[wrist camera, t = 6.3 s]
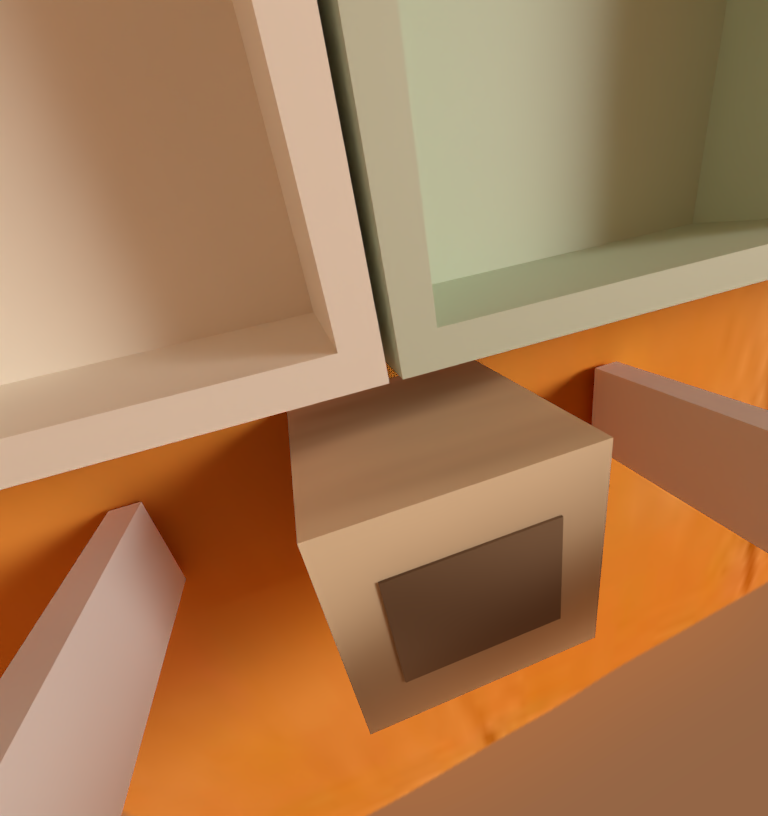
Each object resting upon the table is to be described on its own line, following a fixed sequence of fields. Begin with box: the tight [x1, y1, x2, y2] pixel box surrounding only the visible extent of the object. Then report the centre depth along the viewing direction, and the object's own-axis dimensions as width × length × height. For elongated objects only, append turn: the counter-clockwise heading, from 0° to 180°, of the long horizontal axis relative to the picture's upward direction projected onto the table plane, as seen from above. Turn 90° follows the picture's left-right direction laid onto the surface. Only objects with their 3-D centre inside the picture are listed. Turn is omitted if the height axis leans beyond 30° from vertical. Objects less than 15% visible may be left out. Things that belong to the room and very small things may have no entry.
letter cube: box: [287, 360, 613, 734], centre depth 9 cm, size 5×5×5 cm
